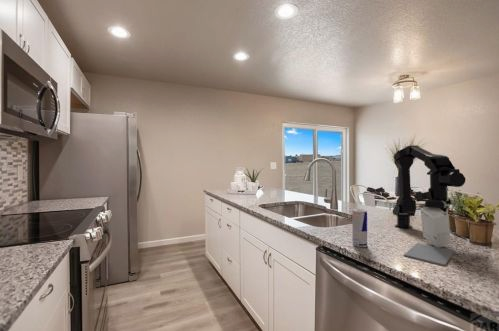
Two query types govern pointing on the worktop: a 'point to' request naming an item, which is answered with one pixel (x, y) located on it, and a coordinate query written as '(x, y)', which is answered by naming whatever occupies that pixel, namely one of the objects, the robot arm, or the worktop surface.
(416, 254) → the mat
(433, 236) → the skincare box
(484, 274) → the worktop surface
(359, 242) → the beverage can
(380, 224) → the worktop surface
